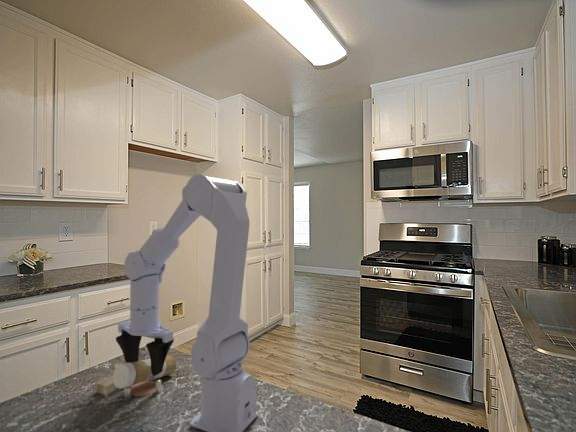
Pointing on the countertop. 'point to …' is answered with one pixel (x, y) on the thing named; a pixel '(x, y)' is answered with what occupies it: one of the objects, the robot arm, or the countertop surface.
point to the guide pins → (128, 389)
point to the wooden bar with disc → (136, 390)
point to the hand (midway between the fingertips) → (144, 369)
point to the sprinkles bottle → (140, 372)
